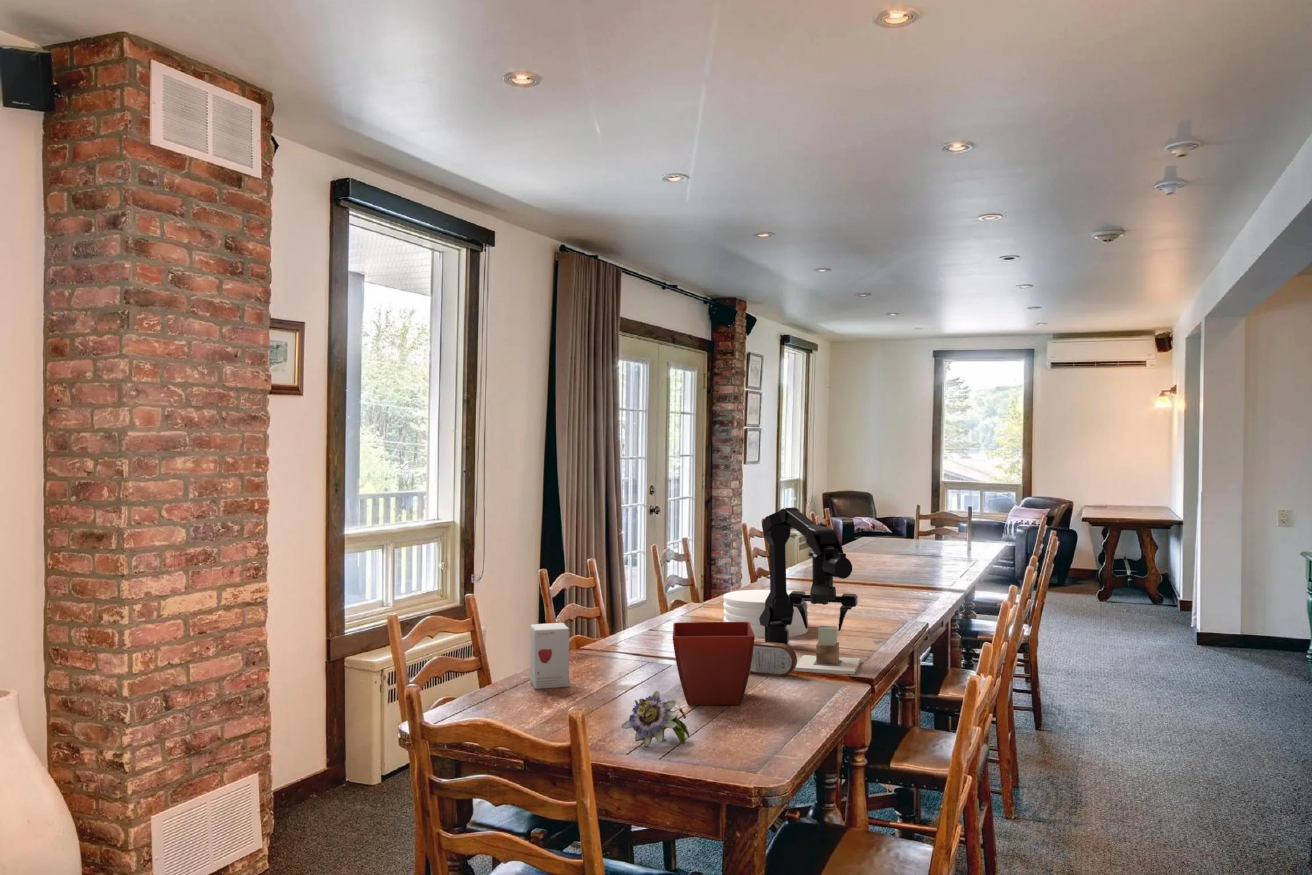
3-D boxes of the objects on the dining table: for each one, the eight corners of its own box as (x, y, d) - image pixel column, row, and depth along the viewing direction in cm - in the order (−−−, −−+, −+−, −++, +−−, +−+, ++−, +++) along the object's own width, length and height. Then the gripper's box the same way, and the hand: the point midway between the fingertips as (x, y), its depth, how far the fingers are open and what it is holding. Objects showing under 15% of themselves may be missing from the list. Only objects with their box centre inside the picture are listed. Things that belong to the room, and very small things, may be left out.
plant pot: (674, 688, 232) (673, 621, 232) (750, 688, 231) (749, 620, 232) (673, 709, 213) (672, 636, 213) (756, 709, 212) (755, 635, 213)
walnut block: (816, 663, 253) (816, 645, 253) (819, 659, 258) (819, 641, 258) (836, 664, 251) (836, 646, 251) (839, 660, 256) (838, 642, 256)
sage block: (818, 644, 253) (818, 628, 253) (820, 641, 257) (820, 625, 257) (835, 645, 252) (834, 629, 252) (836, 642, 256) (836, 626, 256)
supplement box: (534, 689, 232) (533, 629, 233) (529, 681, 241) (529, 623, 241) (570, 686, 235) (569, 627, 235) (564, 678, 243) (563, 621, 244)
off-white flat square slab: (794, 671, 249) (794, 666, 249) (803, 658, 264) (803, 654, 264) (854, 674, 244) (854, 670, 244) (860, 661, 260) (860, 657, 260)
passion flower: (647, 772, 186) (612, 725, 186) (659, 746, 197) (626, 701, 197) (691, 746, 183) (655, 697, 183) (701, 720, 194) (666, 674, 194)
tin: (797, 675, 245) (797, 643, 245) (794, 678, 242) (793, 645, 242) (743, 670, 251) (743, 639, 251) (740, 672, 248) (739, 641, 248)
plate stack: (814, 637, 295) (813, 601, 295) (726, 638, 295) (726, 602, 295) (801, 621, 323) (800, 589, 323) (721, 622, 323) (720, 589, 323)
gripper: (784, 576, 255) (784, 633, 255) (853, 579, 249) (853, 637, 249) (791, 571, 265) (791, 625, 265) (857, 573, 259) (858, 629, 259)
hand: (823, 629), depth 259 cm, fingers open, 9 cm apart
